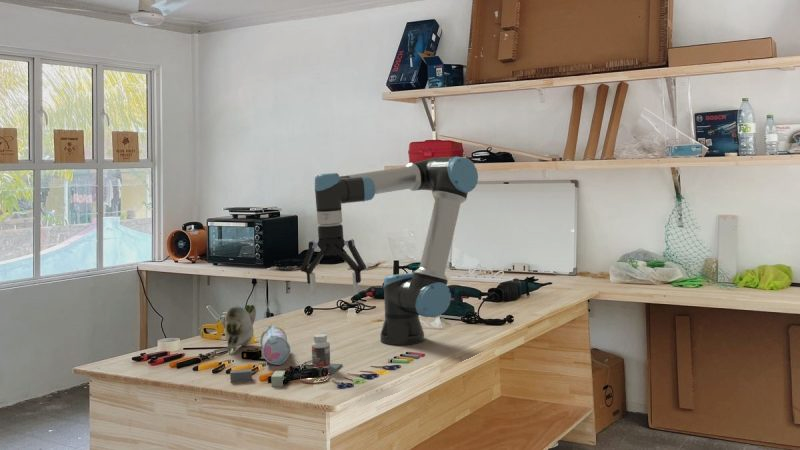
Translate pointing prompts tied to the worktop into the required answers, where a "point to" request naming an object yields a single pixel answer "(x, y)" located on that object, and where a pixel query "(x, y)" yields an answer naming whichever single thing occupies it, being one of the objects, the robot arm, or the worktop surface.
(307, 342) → the worktop surface
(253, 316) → the toy
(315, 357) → the pill bottle
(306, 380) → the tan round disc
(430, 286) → the robot arm
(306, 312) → the worktop surface
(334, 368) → the slate mat
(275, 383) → the sage brick
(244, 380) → the charcoal brick
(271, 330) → the pencil case
